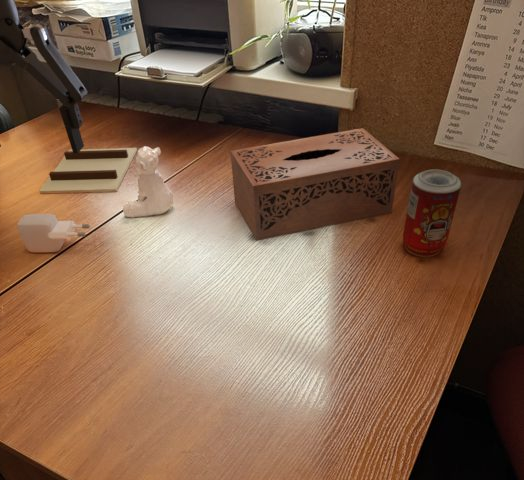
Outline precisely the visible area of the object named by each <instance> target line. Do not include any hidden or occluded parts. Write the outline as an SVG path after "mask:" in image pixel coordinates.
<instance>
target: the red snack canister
mask: <svg viewBox="0 0 524 480" xmlns="http://www.w3.org/2000/svg"><path fill="white" fill-rule="evenodd" d="M461 189H462V182H461V180H460V178H459V177H458V176H457V175H455V174H453V173H451V172H450V171H448V170H443V169H438V168H435V169H434V168H433V169H427V170H424V171H421V172H419V173H417V174H416V175H415V176H414V177H413V179H412V182H411V188H410V194H409V199H408V205H407V211H406V217H405V222H404V228H403V233H402V239H403V242H404V244H405V246H404V247H405V249H406V251H407V252H408V253H410V254H412V255H414V256H417V257H423V258H431V257H434V256H436V255H438V254H439V253H440V252H441V250H442V249H443V248H444V247H445V246H446V245H447V243H448V241H449V237H450V236H449V235H450V231H451V228H452V223H453V219H454V215H455V211H456V207H457V203H458V200H459V197H460V194H461V193H460V192H461Z"/></svg>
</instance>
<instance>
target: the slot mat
mask: <svg viewBox="0 0 524 480" xmlns="http://www.w3.org/2000/svg"><path fill="white" fill-rule="evenodd" d="M137 152H138V148H137V147H117V148H116V147H115V148H114V147H113V148H111V147H110V148H86V149H84V148H82V149H81V150H80V151H79V153H73V151H72V149H68V150H67V151H64V153H63V155H64V156H63V158H62V159H61V160H60V162H59V163H58V164H57V166H56V167H55V169H54V170H53V171H50V172H49V173H48V175H49V177H47V180H46V181H45V182H44V184H43V185H42V187H41V188H40V189H39V194H40V195H42V194H45V195H46V194H81V193H84V194H85V193H86V194H87V193H117V192H118V191H119V188H120V186H121V185H122V182H123V180H124V178H125V176H126V174H127V172H128V171H129V168H130V167H131V164H132V163H133V160H134V158H135V157H136V155H137Z"/></svg>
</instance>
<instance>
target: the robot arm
mask: <svg viewBox="0 0 524 480" xmlns="http://www.w3.org/2000/svg"><path fill="white" fill-rule="evenodd" d="M17 8H18V7H17V5H16V2H15V0H0V66H1V65H2V66H5V67H13V66H15V65H16V66H18V67H19V68H20V69H21V70H25V71H26V72H27V73H28V74H29V75H30V76H31V77H33V78H34V79H35V80H36V81H37V82H38V83H39V84H40V85H41V86H42V87H44V88H45V90H47V91H48V92H49V94H51V95H53V96H54V97H55V99H57V100H58V102H60V103H61V104H62V105H60V106H59V108H58V110H59V112H60V116H61V119H62V122H63V125H64V128H65V132H66V135H67V138H68V141H69V144H70V149H71V150H72V151H73V153H79V151H80V150H81V149H84V147H85V144H84V141H83V137H82V134H81V130H80V128H81V127H82V126H83V119H82V115H81V111H80V108H79V105H78V103H80V102H82V101H83V100H84V99H85V98H86V97H87V96H88V94H89V92H88V90H87V88H86V86H84V84H83V83H82V81H81V80H80V79H79V77H78V76H77V75H76V73H75V71H74V70H73V68H72V67H71V66H70V64H69V63H68V62H67V61H66V59H65V58H64V56H63V55H62V53H61V52H60V51H59V49H58V48H57V46H56V45H55V44H54V43H53V41H52V38H51V36H50V34H49V31H48V29H47V26H46V24H44V23H43V22H39V23H36V24H35V25H31V26H26V27H25V26H24V25H23V24H22V23H21V20H20V19H19V13H18V9H17ZM27 41H30V42H29V43H30V44H31V45H33V46H35V47H36V49H37V51H38V53H39V54H40V55H41V57H42V58H43V60H44V61H45V62H46V63H47V65H48V66H49V67H47V66H46V65H45V64H44V63H43V62H42V61H41V60H40V59H39V58H38V56H37V54H36V53H35V52H34V51H33V50H32V49H31V48H30V47H29V46H28V45H27ZM49 68H50V69H51V70H52V71H51V70H50V69H49ZM1 147H2V144H1V143H0V148H1Z"/></svg>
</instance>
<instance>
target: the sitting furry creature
mask: <svg viewBox="0 0 524 480" xmlns="http://www.w3.org/2000/svg"><path fill="white" fill-rule="evenodd" d="M161 154H162V151H161V148H160V147H159V146H158V147H154V148H151V147H149V146H146V145H144V146H142V147H139V148H138V149H137V152H136V155H135V165H134V171H136V172H137V175H138V178H137V187H138V189H137V194H138V195H137V200H133V201H129V202H127V204H124V205H123V206H122V212H123V215H124V217H125V218H132V219H134V218H140V217H149V216H156V215H157V216H159V215H163V214H166V213H168V211H169V210H170V209H171V208H173V205H174V194H173V192H172V191H171V190H170V189H169V188H168V185H166V182H164V180H165V179H164V177H162V176H163V175H162V174H161V173H160V172H159V171H158V170H157V169H158V167H159V163H160V162H159V161H160V159H159V157H160V156H161Z"/></svg>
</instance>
